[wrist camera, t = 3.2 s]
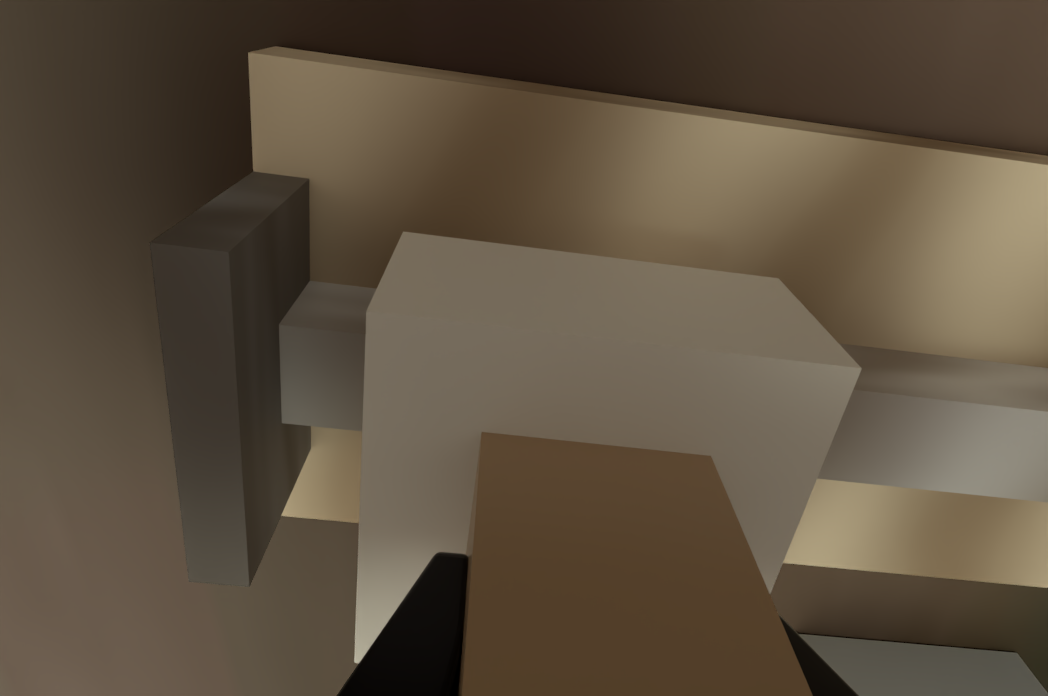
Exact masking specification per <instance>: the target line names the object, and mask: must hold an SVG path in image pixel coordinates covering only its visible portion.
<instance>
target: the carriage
mask: <svg viewBox="0 0 1048 696" xmlns="http://www.w3.org/2000/svg"><path fill="white" fill-rule="evenodd" d="M861 369H862V368H861V367H860V366H859V365H858V364H857V363H856V362H855V361H854V360H853V358H852V357H851V356H850V355H849V354H848V353H847V352H846V351H845V350H844V349H843V348H842V347H841V345H840V344H839V343H838V342H837V341H836V340H835V339H834V338H833V337H832V336H831V335H830V334H829V332H828V331H827V330H826V329H825V328H824V327H823V326H822V325H821V324H820V323H819V322H818V321H817V319H816V318H815V317H814V316H813V315H812V314H811V313H810V312H809V311H808V310H807V309H806V308H805V306H804V305H803V304H802V303H801V302H800V301H799V300H798V299H797V298H796V297H795V296H794V295H793V293H792V292H791V291H790V290H789V289H788V288H787V287H786V286H785V285H784V284H783V283H782V282H781V280H780V279H779V278H772V277H764V276H756V275H748V274H740V273H732V272H724V271H716V270H708V269H700V268H692V267H684V266H676V265H668V264H660V263H652V262H644V261H636V260H628V259H620V258H612V257H604V256H596V255H588V254H580V253H572V252H564V251H556V250H548V249H540V248H532V247H524V246H516V245H508V244H500V243H492V242H484V241H476V240H467V239H459V238H451V237H443V236H435V235H427V234H419V233H411V232H403V233H402V235H401V237H400V239H399V242H398V244H397V246H396V248H395V250H394V252H393V255H392V257H391V259H390V261H389V263H388V265H387V268H386V270H385V272H384V274H383V276H382V278H381V280H380V283H379V285H378V287H377V289H376V291H375V293H374V296H373V298H372V300H371V302H370V304H369V306H368V308H367V311H366V335H365V364H364V394H363V423H362V452H361V482H360V511H359V540H358V570H357V599H356V628H355V657H354V663H360V661H361V660H362V658H363V657H364V655H365V654H366V653H367V651H368V650H369V648H370V647H371V645H372V644H373V642H374V641H375V640H376V638H377V637H378V635H379V634H380V632H381V631H382V629H383V628H384V627H385V625H386V624H387V622H388V621H389V619H390V618H391V616H392V615H393V614H394V612H395V611H396V609H397V608H398V606H399V605H400V603H401V602H402V601H403V599H404V598H405V596H406V595H407V593H408V592H409V590H410V589H411V588H412V586H413V585H414V583H415V582H416V580H417V579H418V577H419V576H420V575H421V573H422V572H423V570H424V569H425V567H426V566H427V564H428V563H429V562H430V560H431V559H432V557H433V556H434V555H435V554H436V553H438V552H449V553H460V554H466V555H467V556H468V573H467V588H466V602H465V617H464V631H463V643H462V650H461V658H460V665H459V673H458V680H457V688H456V695H455V696H813V695H812V693H811V690H810V688H809V686H808V683H807V681H806V679H805V676H804V674H803V671H802V669H801V667H800V664H799V662H798V660H797V657H796V655H795V653H794V650H793V648H792V646H791V643H790V641H789V638H788V636H787V634H786V631H785V629H784V627H783V624H782V622H781V620H780V617H779V615H778V613H777V610H776V608H775V606H774V603H773V601H772V598H771V596H770V593H771V591H772V588H773V586H774V584H775V581H776V579H777V576H778V574H779V571H780V569H781V566H782V564H783V561H784V559H785V556H786V554H787V552H788V549H789V547H790V544H791V542H792V539H793V537H794V534H795V532H796V529H797V527H798V524H799V522H800V519H801V517H802V515H803V512H804V510H805V507H806V505H807V502H808V500H809V497H810V495H811V492H812V490H813V487H814V485H815V483H816V480H817V478H818V475H819V473H820V470H821V468H822V465H823V463H824V460H825V458H826V455H827V453H828V451H829V448H830V446H831V443H832V441H833V438H834V436H835V433H836V431H837V428H838V426H839V423H840V421H841V419H842V416H843V414H844V411H845V409H846V406H847V404H848V401H849V399H850V396H851V394H852V391H853V389H854V387H855V384H856V382H857V379H858V377H859V374H860V372H861Z"/></svg>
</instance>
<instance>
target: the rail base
mask: <svg viewBox="0 0 1048 696" xmlns="http://www.w3.org/2000/svg"><path fill="white" fill-rule="evenodd" d="M248 61H249V85H250V108H251V131H252V155H253V172H252V173H250V174H249V175H247V176H246V177H244V178H243V179H241V180H240V181H239V182H237V183H236V184H234V185H233V186H231V187H230V188H228V189H227V190H225V191H224V192H223V193H221V194H220V195H218V196H217V197H215V198H214V199H212V200H211V201H209V202H208V203H207V204H205V205H204V206H202V207H201V208H199V209H198V210H196V211H195V212H193V213H192V214H191V215H189V216H188V217H186V218H185V219H183V220H182V221H180V222H179V223H177V224H176V225H174V226H173V227H172V228H170V229H169V230H167V231H166V232H164V233H163V234H161V235H160V236H158V237H157V238H156V239H154V240H153V241H151V242H150V250H151V259H152V267H153V276H154V285H155V293H156V302H157V311H158V319H159V328H160V337H161V345H162V354H163V362H164V371H165V380H166V388H167V397H168V406H169V414H170V423H171V432H172V440H173V449H174V458H175V466H176V475H177V484H178V492H179V501H180V510H181V518H182V527H183V536H184V544H185V553H186V562H187V570H188V579H189V582H198V583H210V584H221V585H233V586H245V587H250V584H251V582H252V580H253V578H254V575H255V573H256V571H257V569H258V566H259V564H260V562H261V560H262V558H263V555H264V553H265V551H266V549H267V546H268V544H269V542H270V540H271V537H272V535H273V533H274V531H275V528H276V526H277V524H278V522H279V519H280V517H281V516H289V517H300V518H311V519H321V520H332V521H342V522H353V523H359V511H360V482H361V452H362V423H363V394H364V364H365V335H366V311H367V308H368V306H369V304H370V302H371V300H372V298H373V296H374V293H375V291H376V289H377V287H378V285H379V283H380V280H381V278H382V276H383V274H384V272H385V270H386V268H387V265H388V263H389V261H390V259H391V257H392V255H393V252H394V250H395V248H396V246H397V244H398V242H399V239H400V237H401V235H402V233H403V232H411V233H419V234H427V235H435V236H443V237H451V238H459V239H467V240H476V241H484V242H492V243H500V244H508V245H516V246H524V247H532V248H540V249H548V250H556V251H564V252H572V253H580V254H588V255H596V256H604V257H612V258H620V259H628V260H636V261H644V262H652V263H660V264H668V265H676V266H684V267H692V268H700V269H708V270H716V271H724V272H732V273H740V274H748V275H756V276H764V277H772V278H779V279H780V280H781V282H782V283H783V284H784V285H785V286H786V287H787V288H788V289H789V290H790V291H791V292H792V293H793V295H794V296H795V297H796V298H797V299H798V300H799V301H800V302H801V303H802V304H803V305H804V306H805V308H806V309H807V310H808V311H809V312H810V313H811V314H812V315H813V316H814V317H815V318H816V319H817V321H818V322H819V323H820V324H821V325H822V326H823V327H824V328H825V329H826V330H827V331H828V332H829V334H830V335H831V336H832V337H833V338H834V339H835V340H836V341H837V342H838V343H839V344H840V345H841V347H842V348H843V349H844V350H845V351H846V352H847V353H848V354H849V355H850V356H851V357H852V358H853V360H854V361H855V362H856V363H857V364H858V365H859V366H860V367H861V368H862V369H861V372H860V374H859V377H858V379H857V382H856V384H855V387H854V389H853V391H852V394H851V396H850V399H849V401H848V404H847V406H846V409H845V411H844V414H843V416H842V419H841V421H840V423H839V426H838V428H837V431H836V433H835V436H834V438H833V441H832V443H831V446H830V448H829V451H828V453H827V455H826V458H825V460H824V463H823V465H822V468H821V470H820V473H819V475H818V478H817V480H816V483H815V485H814V487H813V490H812V492H811V495H810V497H809V500H808V502H807V505H806V507H805V510H804V512H803V515H802V517H801V519H800V522H799V524H798V527H797V529H796V532H795V534H794V537H793V539H792V542H791V544H790V547H789V549H788V552H787V554H786V556H785V559H784V561H783V563H789V564H800V565H810V566H821V567H831V568H842V569H853V570H863V571H874V572H885V573H895V574H906V575H916V576H927V577H938V578H948V579H959V580H970V581H980V582H991V583H1001V584H1012V585H1023V586H1033V587H1044V588H1048V156H1045V155H1038V154H1031V153H1024V152H1017V151H1010V150H1003V149H996V148H989V147H982V146H975V145H968V144H961V143H954V142H947V141H940V140H933V139H926V138H918V137H911V136H904V135H897V134H890V133H883V132H876V131H869V130H862V129H855V128H848V127H841V126H834V125H827V124H820V123H813V122H806V121H799V120H792V119H785V118H778V117H771V116H763V115H756V114H749V113H742V112H735V111H728V110H721V109H714V108H707V107H700V106H693V105H686V104H679V103H672V102H665V101H658V100H651V99H644V98H637V97H630V96H623V95H616V94H609V93H601V92H594V91H587V90H580V89H573V88H566V87H559V86H552V85H545V84H538V83H531V82H524V81H517V80H510V79H503V78H496V77H489V76H482V75H475V74H468V73H461V72H454V71H447V70H439V69H432V68H425V67H418V66H411V65H404V64H397V63H390V62H383V61H376V60H369V59H362V58H355V57H348V56H341V55H334V54H327V53H320V52H313V51H306V50H299V49H292V48H285V47H277V46H274V47H270V48H265V49H261V50H257V51H252V52H248Z"/></svg>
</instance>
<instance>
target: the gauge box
mask: <svg viewBox="0 0 1048 696" xmlns="http://www.w3.org/2000/svg"><path fill="white" fill-rule="evenodd" d="M799 635H800V636H801V637H802V638H803V639H804V640H805V641H806V642H807V643H808V644H809V645H810V646H811V647H812V648H813V649H814V650H815V651H816V653H817V654H818V655H819V656H820V657H821V658H822V659H823V660H824V661H825V662H826V663H827V664H828V665H829V666H830V667H831V668H832V669H833V670H834V671H835V672H836V673H837V674H838V675H839V676H840V677H841V678H842V679H843V680H844V681H845V682H846V683H847V684H848V685H849V686H850V687H851V688H852V689H853V690H854V691H855V692H856V693H857V694H858V695H859V696H1048V693H1047V692H1046V690H1045V689H1044V688H1043V686H1042V685H1041V684H1040V682H1039V681H1038V680H1037V678H1036V677H1035V676H1034V675H1033V673H1032V672H1031V671H1030V669H1029V668H1028V667H1027V665H1026V664H1025V663H1024V661H1023V660H1022V659H1021V657H1020V656H1019V655H1018V654H1017V653H1014V652H1002V651H991V650H979V649H968V648H956V647H944V646H933V645H921V644H910V643H898V642H887V641H875V640H864V639H852V638H841V637H829V636H817V635H806V634H799Z"/></svg>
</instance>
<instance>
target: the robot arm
mask: <svg viewBox="0 0 1048 696" xmlns="http://www.w3.org/2000/svg"><path fill="white" fill-rule="evenodd" d="M467 573H468V556H467V555H466V554H460V553H449V552H438V553H436V554H435V555H434V556H433V557H432V559H431V560H430V562H429V563H428V564H427V566H426V567H425V569H424V570H423V572H422V573H421V575H420V576H419V577H418V579H417V580H416V582H415V583H414V585H413V586H412V588H411V589H410V590H409V592H408V593H407V595H406V596H405V598H404V599H403V601H402V602H401V603H400V605H399V606H398V608H397V609H396V611H395V612H394V614H393V615H392V616H391V618H390V619H389V621H388V622H387V624H386V625H385V627H384V628H383V629H382V631H381V632H380V634H379V635H378V637H377V638H376V640H375V641H374V642H373V644H372V645H371V647H370V648H369V650H368V651H367V653H366V654H365V655H364V657H363V658H362V660H361V661H360V663H359V664H358V666H357V667H356V668H355V670H354V671H353V673H352V674H351V676H350V677H349V679H348V680H347V681H346V683H345V684H344V686H343V687H342V689H341V690H340V692H339V693H338V694H337V696H455V695H456V688H457V680H458V673H459V665H460V658H461V650H462V643H463V631H464V617H465V602H466V588H467ZM778 615H779V614H778ZM779 617H780V620H781V622H782V624H783V627H784V629H785V631H786V634H787V636H788V638H789V641H790V643H791V646H792V648H793V650H794V653H795V655H796V657H797V660H798V662H799V664H800V667H801V669H802V671H803V674H804V676H805V679H806V681H807V683H808V686H809V688H810V690H811V693H812V695H813V696H859V695H858V694H857V693H856V692H855V691H854V690H853V689H852V688H851V687H850V686H849V685H848V684H847V683H846V682H845V681H844V680H843V679H842V678H841V677H840V676H839V675H838V674H837V673H836V672H835V671H834V670H833V669H832V668H831V667H830V666H829V665H828V664H827V663H826V662H825V661H824V660H823V659H822V658H821V657H820V656H819V655H818V654H817V653H816V651H815V650H814V649H813V648H812V647H811V646H810V645H809V644H808V643H807V642H806V641H805V640H804V639H803V638H802V637H801V636H800V635H799V634H798V633H797V632H796V631H795V630H794V629H793V628H792V627H791V626H790V625H789V624H788V623H787V622H786V621H785V620H784V619H783V618H782V617H781V616H780V615H779Z"/></svg>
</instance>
